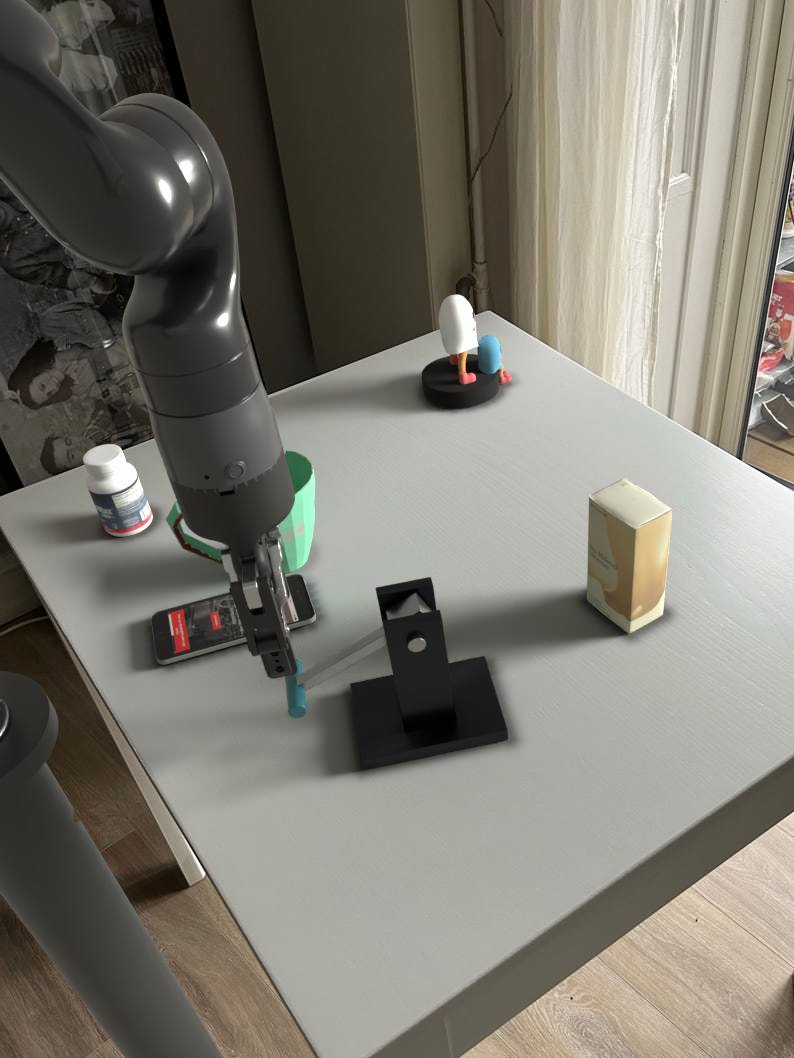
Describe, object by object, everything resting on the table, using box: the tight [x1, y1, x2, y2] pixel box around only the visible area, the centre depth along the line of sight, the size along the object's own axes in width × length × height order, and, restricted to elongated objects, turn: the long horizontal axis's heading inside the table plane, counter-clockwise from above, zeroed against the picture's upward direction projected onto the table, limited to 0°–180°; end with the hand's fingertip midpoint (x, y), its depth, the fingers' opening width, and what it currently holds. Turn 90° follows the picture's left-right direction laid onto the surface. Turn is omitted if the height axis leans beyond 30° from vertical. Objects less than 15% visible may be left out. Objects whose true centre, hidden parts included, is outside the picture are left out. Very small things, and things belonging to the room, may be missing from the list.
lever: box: [284, 593, 431, 719], centre depth 77 cm, size 13×6×2 cm, turn 102°
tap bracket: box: [349, 576, 509, 771], centre depth 79 cm, size 12×9×13 cm
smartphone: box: [150, 573, 317, 665], centre depth 94 cm, size 7×1×15 cm
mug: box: [165, 449, 316, 574], centre depth 97 cm, size 15×10×10 cm
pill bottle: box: [82, 443, 154, 538], centre depth 105 cm, size 5×5×9 cm
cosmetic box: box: [586, 477, 673, 634], centre depth 87 cm, size 6×4×12 cm
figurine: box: [420, 294, 513, 410], centre depth 119 cm, size 10×11×12 cm
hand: (280, 634), depth 74 cm, fingers open, 8 cm apart
